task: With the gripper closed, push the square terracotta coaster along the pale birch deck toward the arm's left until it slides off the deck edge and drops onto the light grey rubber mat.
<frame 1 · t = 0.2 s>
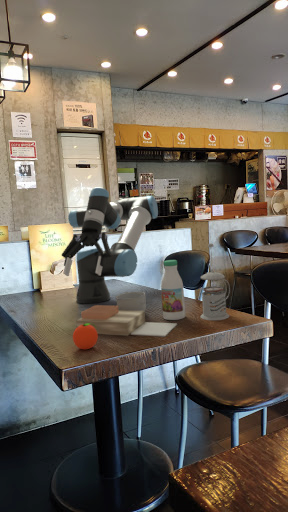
hand: (81, 274, 135), 16 cm above the table, tool tilted 35°, fingers open, 13 cm apart
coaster: (100, 315, 123), point 4 cm above the table, touching deck
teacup: (132, 315, 137), on the table
milk bottle: (174, 318, 129), on the table
french press: (216, 316, 127), on the table
deck: (112, 327, 122), on the table
mat: (154, 329, 117), on the table
clementine: (87, 348, 104), on the table
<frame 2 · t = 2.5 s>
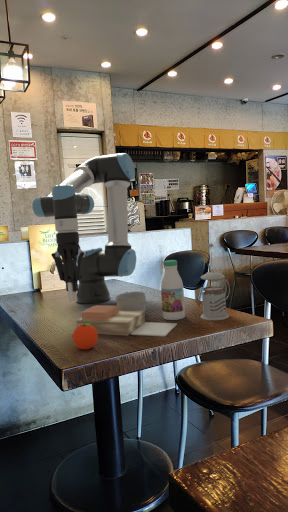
hand: (73, 300, 126), 9 cm above the table, tool pointing down, fingers closed
nothing on the table moved.
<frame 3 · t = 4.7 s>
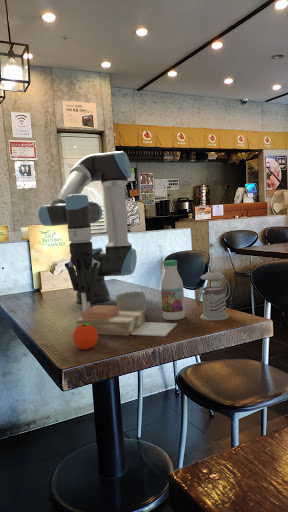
hand: (86, 311, 125), 5 cm above the table, tool pointing down, fingers closed
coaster: (100, 315, 123), point 4 cm above the table, touching gripper
everything else where it was.
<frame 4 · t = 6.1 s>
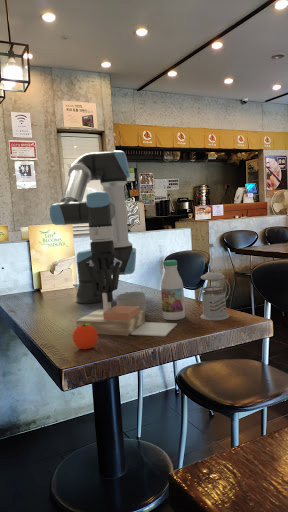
hand: (107, 311, 122), 5 cm above the table, tool pointing down, fingers closed
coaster: (122, 316, 120), point 4 cm above the table, touching gripper
everything else where it was.
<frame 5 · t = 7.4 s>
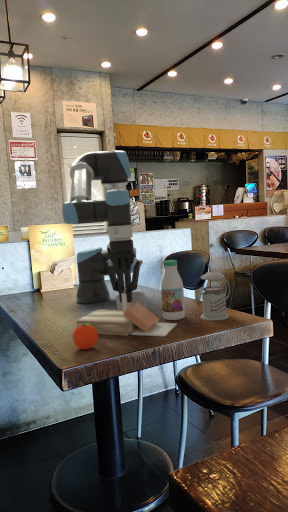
hand: (126, 312, 119), 5 cm above the table, tool pointing down, fingers closed
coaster: (140, 319, 118), point 3 cm above the table, tilted 36°, touching deck, mat
everything else where it was.
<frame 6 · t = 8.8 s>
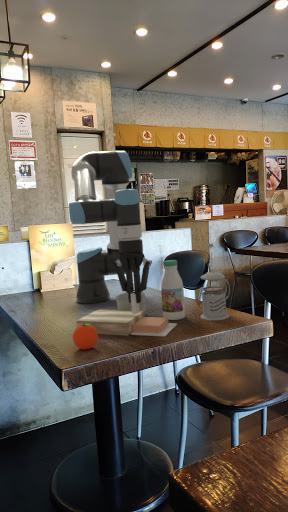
hand: (135, 312, 118), 5 cm above the table, tool pointing down, fingers closed
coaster: (150, 328, 117), resting on mat
everything else where it was.
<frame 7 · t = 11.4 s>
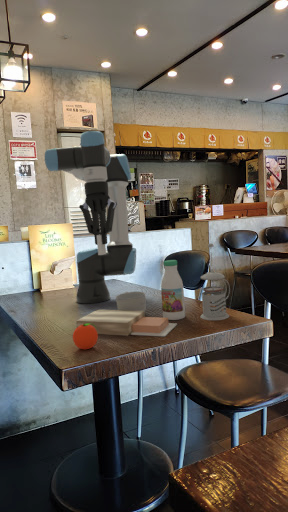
hand: (102, 254, 122), 24 cm above the table, tool pointing down, fingers closed
nothing on the table moved.
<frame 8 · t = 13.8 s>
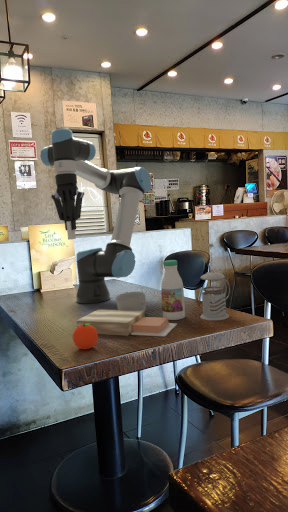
hand: (71, 239, 136), 29 cm above the table, tool pointing down, fingers closed
nothing on the table moved.
at the end: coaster resting on mat; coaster inside the target area on the mat (1.3 cm from its centre), point 0.4 cm above the mat's base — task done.
